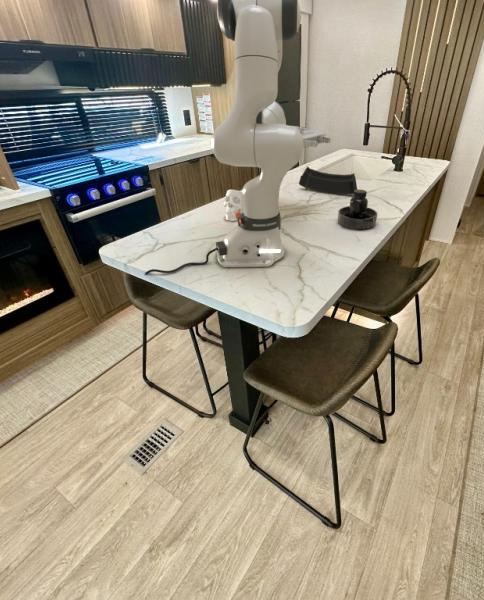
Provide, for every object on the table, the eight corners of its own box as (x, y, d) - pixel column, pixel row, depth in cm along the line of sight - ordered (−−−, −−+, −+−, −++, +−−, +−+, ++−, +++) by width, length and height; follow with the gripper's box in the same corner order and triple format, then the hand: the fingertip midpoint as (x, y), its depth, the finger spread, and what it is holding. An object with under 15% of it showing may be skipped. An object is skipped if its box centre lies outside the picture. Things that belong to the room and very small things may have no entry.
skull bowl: (214, 217, 133) (220, 187, 132) (232, 224, 146) (237, 197, 145) (236, 220, 129) (242, 190, 128) (252, 227, 142) (258, 200, 141)
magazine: (364, 177, 154) (309, 152, 159) (363, 178, 151) (307, 153, 156) (351, 209, 165) (299, 185, 170) (349, 211, 162) (297, 186, 167)
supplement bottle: (365, 225, 127) (369, 194, 120) (347, 223, 129) (350, 193, 122) (365, 218, 133) (369, 189, 126) (348, 217, 134) (351, 188, 127)
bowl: (345, 232, 124) (346, 221, 121) (332, 217, 136) (333, 207, 133) (382, 228, 126) (384, 217, 124) (366, 214, 138) (367, 204, 136)
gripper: (277, 133, 119) (308, 136, 113) (307, 126, 133) (337, 129, 126) (277, 151, 123) (307, 156, 116) (307, 143, 136) (336, 147, 130)
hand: (323, 142), depth 121 cm, fingers open, 8 cm apart
